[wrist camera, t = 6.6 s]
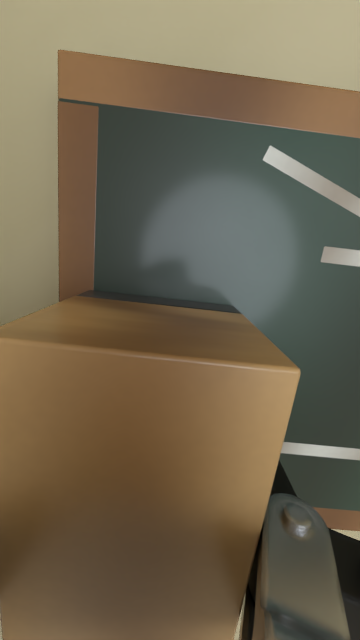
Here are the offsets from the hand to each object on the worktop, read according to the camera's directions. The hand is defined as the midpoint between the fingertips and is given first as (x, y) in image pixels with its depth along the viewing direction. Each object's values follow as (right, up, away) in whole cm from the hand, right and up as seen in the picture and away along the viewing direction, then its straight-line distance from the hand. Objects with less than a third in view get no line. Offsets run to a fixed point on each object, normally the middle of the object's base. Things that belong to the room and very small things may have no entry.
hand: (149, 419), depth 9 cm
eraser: (0, 0, 0) cm, 0 cm away
